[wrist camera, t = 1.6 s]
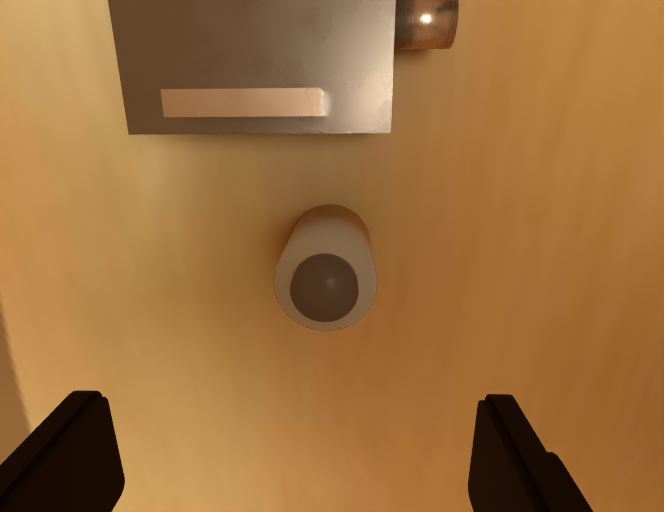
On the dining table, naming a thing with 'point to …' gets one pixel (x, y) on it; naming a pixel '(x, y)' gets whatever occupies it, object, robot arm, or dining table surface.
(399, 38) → the box with side knob
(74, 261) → the dining table surface
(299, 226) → the toy camera lens
